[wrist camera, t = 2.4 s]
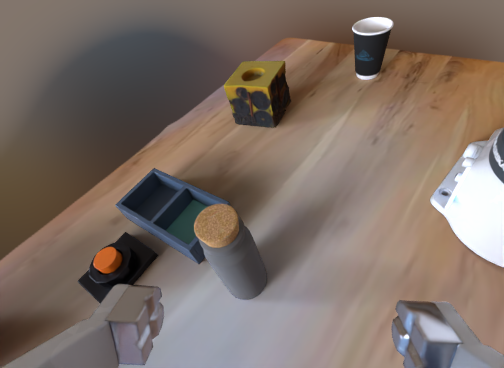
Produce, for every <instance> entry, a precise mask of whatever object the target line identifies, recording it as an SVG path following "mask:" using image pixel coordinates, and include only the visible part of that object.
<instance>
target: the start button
mask: <svg viewBox="0 0 504 368" xmlns="http://www.w3.org/2000/svg"><path fill="white" fill-rule="evenodd" d="M122 259H123V258H122V254H121V253H120V252H118V251H117V250H116V249H115V248H113V247H106V248H104V249H102V250H101V251H100V252H99V253H98V254H97V255H96V256H95V258H94V262H93V264H94V267H95V268H96V269H98V270H99V271H101V272H102V273H104V274H109V273H112V272H114V271H115V270H116V269H117V268H118V267H119V266H120V265H121V263H122Z"/></svg>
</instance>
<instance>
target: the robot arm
mask: <svg viewBox="0 0 504 368" xmlns="http://www.w3.org/2000/svg"><path fill="white" fill-rule="evenodd" d="M442 194H445V195H446V196H444V195H442ZM430 201H431V203H432V205H433V206H434V207H435V208H436V209H437V210H438V211H439V212H441V213H442V214H443V215H444V216H445V217H446V219H447V220H448V222H449V224H450V226H451V228H452V229H453V231H454V233H455V234H456V235H457V237H458V238H459V239H460V240H461V241H462V242H463V243H464V244H465V245H466V246H467V247H468V248H470V249H471V250H472V251H473V252H475V253H476V254H478V255H479V256H481V257H482V258H484V259H486V260H488V261H490V262H492V263H494V264H496V265H498V266H501V267H504V128H500V129H498V130H496V131H495V132H494V133H493V134H492V136H491V137H490V139H489V140H488V141H478V142H473V143H470V144H469V145H468V147H467V149H466V150H465V152H464V153H463V155H462V156H461V157H460V159H459V160H458V161H457V163H456V164H455V165H454V167H453V168H452V170H451V171H450V172H449V174H448V175H447V176H446V178H445V179H444V180H443V182H442V183H441V184H440V186H439V187H438V188H437V190H436V191H435V193H434V194H433V195H432V197H431V199H430ZM161 297H162V294H161V288H159V287H154V286H142V285H125V284H117V285H115V286H114V287H113V288H112V289H111V291H110V292H109V293H108V294H107V296H106V297H105V298H104V300H103V301H102V302H101V304H100V305H99V306H98V307H97V309H96V310H95V311H94V313H93V314H92V315H91V317H90V318H89V319H88V320H82V321H80V322H79V323H77V324H75V325H73V326H72V327H70V328H68V329H67V330H65V331H63V332H61V333H60V334H58V335H56V336H55V337H53V338H51V339H49V340H48V341H46V342H44V343H43V344H41V345H39V346H37V347H36V348H34V349H32V350H31V351H29V352H27V353H25V354H24V355H22V356H20V357H19V358H17V359H15V360H13V361H12V362H10V363H8V364H7V365H5V366H3V367H1V368H117V367H118V366H119V364H131V365H145V363H146V361H147V359H148V357H149V355H150V352H151V350H152V348H153V342H152V339H154V338H155V337H156V336H157V335H159V332H160V330H161V327H162V323H163V319H164V308H163V305H162V304H161V303H160V302H159V301H160V299H161ZM396 311H397V313H398V316H397V317H396V318H395V319H393V322H392V338H393V342H394V345H395V347H396V349H397V351H398V352H399V353H400V354H401V355H403V356H404V357H405V359H404V362H403V365H404V367H405V368H504V355H502V354H501V353H499V352H498V351H496V350H494V349H493V348H491V347H490V346H485V345H483V344H482V343H481V342H480V340H479V339H478V338H477V337H476V335H475V334H474V333H473V332H472V330H471V329H470V328H469V326H468V325H467V324H466V323H465V321H464V320H463V319H462V317H461V316H460V315H459V314H458V312H457V311H456V310H455V309H454V307H453V306H452V305H451V304H450V303H448V302H426V301H405V300H399V302H398V303H397V305H396Z"/></svg>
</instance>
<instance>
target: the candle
mask: <svg viewBox="0 0 504 368" xmlns="http://www.w3.org/2000/svg"><path fill="white" fill-rule="evenodd" d="M285 73H286V71H285V61H249V62H242V63H241V64H240V66H239V67H238V68H237V70H236V71H235V72H234V73H233V75H232V76H231V77H230V78H229V79H228V81H227V82H226V83H225V84H224V88H225V91H226V95H227V98H228V100H229V102H230V105H231V108H232V110H233V117H234V118H235V123H237V124H243V125H251V126H263V127H271V128H274V127H276V126H277V125H278V123H279V121H280V120H281V118H282V116H283V115H284V113H285V111H286V110H285V108H286V107H287V106H288V105H289V103H290V102H291V99H290V96H289V87H288V85H287V82H286V77H285Z"/></svg>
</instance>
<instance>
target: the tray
mask: <svg viewBox="0 0 504 368" xmlns="http://www.w3.org/2000/svg"><path fill="white" fill-rule="evenodd" d="M214 204H227V205H229V206H231V205H230V203H229V202H228V201H226V200H223V199H221V198H219V197H217V196H215V195H212V194H210V193H208V192H206V191H204V190H201V189H199V188H197V187H195V186H193V185H190V184H188V183H186V182H184V181H181V180H179V179H177V178H175V177H173V176H170V175H168V174H166V173H164V172H162V171H159V170H157V169H155V168H154V169H153V170H151V171H150V172H149V173H148V174H147V175H146V176H145V177H144V178H143V179H142V180H141V181H140V182H139V183H138V184H137V185H136V186H135V187H134V188H132V189H131V190H130V191H129V192H128V193H127V194H126V195H125V196H124V197H123V198H122V199H121V200H120V201H119V202H118V203H117V204H116V205H115V206H116V207H117V208H118V209H119V210H120V211H121V212H122V213H123V214H124V215H125V216H126V217H127V219H129V220H130V221H132V222H134V223H135V224H137V225H138V226H140V227H141V228H143V229H145V230H146V231H148V232H149V233H151V234H152V235H154V236H156V237H157V238H159V239H160V240H162V241H163V242H165V243H167V244H168V245H170V246H171V247H173V248H174V249H176V250H178V251H179V252H181V253H182V254H184V255H185V256H187V257H189V258H190V259H192V260H193V261H195V262H196V263H198V264H200V263H201V261H202V260H203V259H204V257H205V255H204V251H203V248H202V246H201V244H200V242H199V238H198V237H197V236H196V234H195V231H194V223H195V220H196V218H197V216H198V215H199V214H200V213H201V212H202V211H203V210H204V209H205V208H207V207H209V206H211V205H214Z"/></svg>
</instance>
